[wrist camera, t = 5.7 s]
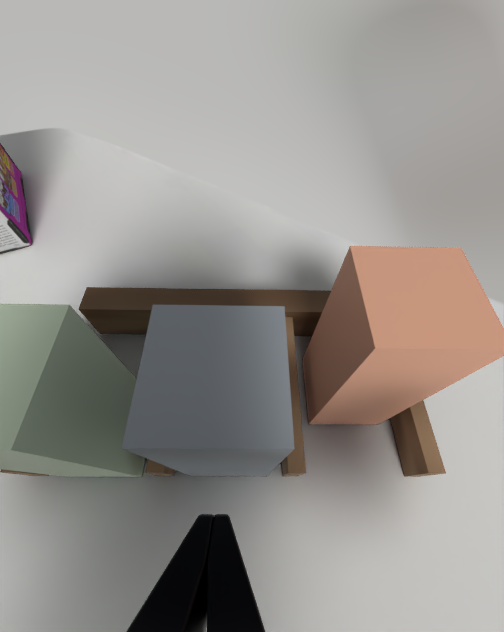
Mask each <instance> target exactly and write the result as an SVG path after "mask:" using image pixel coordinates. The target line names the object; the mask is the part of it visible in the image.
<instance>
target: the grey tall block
mask: <svg viewBox="0 0 504 632" xmlns="http://www.w3.org/2000/svg"><path fill="white" fill-rule="evenodd" d="M122 449H125V450H127V451H129V452H132V453H134V454H137V455H139V456H142V457H144V458H147V459H149V460H152V461H154V462H157V463H159V464H162V465H164V466H167V467H169V468H172V469H174V470H177V471H179V472H182V473H184V474H187V475H189V476H267V475H268V474H269V473H270V472H271V471H272V470H273V469H274V468H275V467H276V466H277V465H279V464H280V463H281V462H282V461H283V460H284V459H285V458H286V457H287V456H288V455H289V454H290V453H291V452H292V451H293V450H294V449H295V448H294V434H293V420H292V406H291V392H290V378H289V363H288V349H287V335H286V321H285V307H284V306H223V305H153V306H152V311H151V315H150V320H149V325H148V329H147V334H146V338H145V343H144V347H143V352H142V357H141V361H140V366H139V370H138V375H137V379H136V384H135V388H134V393H133V398H132V402H131V407H130V411H129V416H128V420H127V425H126V430H125V434H124V439H123V443H122Z"/></svg>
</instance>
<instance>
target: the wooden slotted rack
mask: <svg viewBox="0 0 504 632" xmlns="http://www.w3.org/2000/svg"><path fill="white" fill-rule="evenodd" d="M330 293H331V291H309V290H237V289H166V288H95V287H87V288H86V291H85V294H84V296H83V299H82V302H81V304H80V307H79V310H80V311H81V312H82V314H83V315H84V316H85V317H86V318H87V319H88V320H89V321H90V323H91V324H92V325H93V326H94V327H95V328H96V329H97V331H98V332H99V333H100V334H147V329H148V325H149V320H150V315H151V311H152V306H153V305H223V306H284V307H285V321H286V335H287V349H288V363H289V378H290V392H291V406H292V420H293V434H294V448H295V449H294V450H293V451H292V452H291V453H290V454H289V455H288V456H287V457H286V458H285V459H284V460H283V461H282V474H283V476H299V475H302V474H304V473H306V469H305V457H304V446H303V434H302V422H301V411H300V399H299V387H298V376H297V364H296V353H295V341H294V336H313V333H314V331H315V328H316V326H317V324H318V321H319V319H320V317H321V314H322V312H323V309H324V307H325V305H326V302H327V300H328V297H329V295H330ZM390 419H391V423H392V427H393V431H394V435H395V439H396V444H397V448H398V452H399V456H400V460H401V464H402V468H403V472H404V476H427V475H436V474H444V473H446V472H445V469H444V466H443V463H442V459H441V456H440V453H439V450H438V446H437V443H436V440H435V437H434V434H433V430H432V427H431V424H430V421H429V417H428V414H427V411H426V408H425V405H424V401H423V400H422V401H420V402H418V403H416V404H415V405H413V406H411V407H409V408H407V409H405V410H404V411H402V412H400V413H398V414H396V415H395V416H393V417H391V418H390ZM0 472H3V473H12V474H22V475H32V476H49V475H46V474H37V473H29V472H20V471H12V470H3V469H1V471H0ZM146 473H149V474H153V475H157V476H174V473H175V470H174V469H172V468H169V467H167V466H164V465H162V464H159V463H157V462H154V461H152V460H149V459H148V461H147V467H146Z"/></svg>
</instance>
